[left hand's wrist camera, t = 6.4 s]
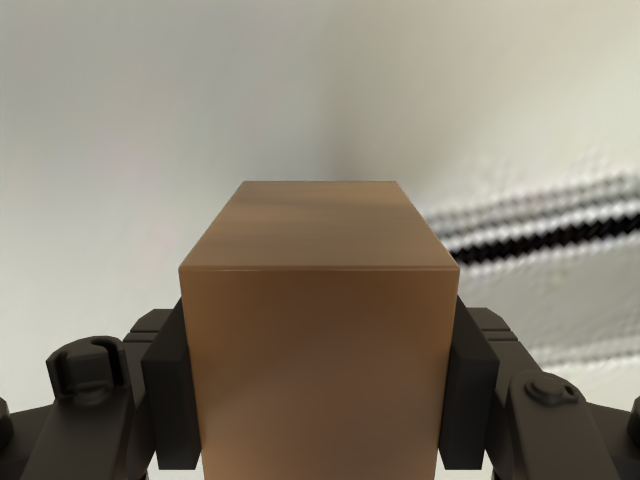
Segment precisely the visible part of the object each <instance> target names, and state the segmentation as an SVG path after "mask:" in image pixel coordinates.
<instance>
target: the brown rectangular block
mask: <svg viewBox="0 0 640 480" xmlns="http://www.w3.org/2000/svg"><path fill="white" fill-rule="evenodd" d="M178 272H179V280H180V288H181V296H182V304H183V312H184V320H185V328H186V336H187V344H188V348H189V356H190V364H191V372H192V380H193V388H194V396H195V404H196V412H197V420H198V428H199V436H200V444H201V456H202V464H203V472H204V480H434V477H435V469H436V461H437V453H438V445H439V437H440V429H441V421H442V413H443V404H444V396H445V388H446V380H447V372H448V364H449V356H450V348H451V340H452V332H453V324H454V316H455V308H456V300H457V291H458V283H459V275H460V267H459V265H458V264H457V263H456V261H455V260H454V259H453V257H452V256H451V255H450V253H449V252H448V251H447V249H446V248H445V247H444V245H443V244H442V243H441V241H440V240H439V239H438V237H437V236H436V235H435V233H434V232H433V231H432V229H431V228H430V227H429V225H428V224H427V223H426V221H425V220H424V219H423V217H422V216H421V215H420V213H419V212H418V211H417V209H416V208H415V207H414V205H413V204H412V203H411V201H410V200H409V199H408V197H407V196H406V195H405V193H404V192H403V191H402V189H401V188H400V187H399V185H398V184H397V183H396V182H395V181H244V182H243V183H242V184H241V185H240V187H239V188H238V189H237V191H236V192H235V193H234V195H233V196H232V197H231V199H230V200H229V201H228V203H227V204H226V205H225V207H224V208H223V209H222V210H221V212H220V213H219V214H218V216H217V217H216V218H215V220H214V221H213V222H212V224H211V225H210V226H209V228H208V229H207V230H206V232H205V233H204V234H203V236H202V237H201V238H200V240H199V241H198V242H197V244H196V245H195V246H194V247H193V249H192V250H191V251H190V253H189V254H188V255H187V257H186V258H185V259H184V261H183V262H182V263H181V265H180V266H179V269H178Z"/></svg>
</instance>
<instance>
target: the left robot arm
mask: <svg viewBox="0 0 640 480" xmlns="http://www.w3.org/2000/svg"><path fill="white" fill-rule="evenodd" d="M46 365H47V369H48V373H49V377H50V380H51V384H52V388H53V392H54V396H55V400H54V403H53V404H51V405H48V406H44V407H40V408H35V409H30V410H25V411H21V412H16V413H11V414H10V413H9V409H8V406H7V403H6V401H5V400H3V399H2V398H1V397H0V480H149V477H148V472H147V468H148V466H149V464H150V461H151V459H152V457H153V455H154V452H155V450H156V455H157V461H158V467H159V470H195V468H196V465H197V462H198V459H199V456H200V453H201V444H200V436H199V428H198V420H197V412H196V404H195V396H194V388H193V380H192V372H191V364H190V356H189V348H188V344H187V336H186V328H185V320H184V312H183V304H182V296H181V298H180V299H179V301H178V303H177V304H176V306H175V307H174V309H153V310H152V311H150V312H149V313H147V314H146V315H144V316H143V317H141V318H140V319H138V321H137V322H136V323H135V325H134V326H133V327H132V329H131V330H130V333H128V334H127V335H126V337H125V338H124V339H123V342H122V341H121V340H119V339H118V338H115V337H111V336H92V337H88V338H83V339H79V340H76V341H74V342H71V343H69V344H66V345H64V346H63V347H61V348H59V349H58V350H56V351H55V352H53V353H52V354H51V355H50V357H49V358H48V359H47V360H46ZM438 449H439V452H440V455H441V458H442V461H443V464H444V467H445V470H481V469H482V463H483V457H484V451H485V449H486V452H487V454H488V456H489V458H490V461H491V463H492V465H493V472H492V477H491V480H640V396H639V397H638V398H636V399H635V401H634V404H633V407H632V411H631V412H628V411H624V410H619V409H614V408H610V407H605V406H600V405H596V404H592V403H589V402H586V399H585V398H584V396H583V395H582V393H581V392H580V391H579V389H578V388H576V387H575V386H574V385H572V384H571V383H570V382H568V381H567V380H565V379H563V378H561V377H559V376H556V375H554V374H551V373H547V372H543V371H542V370H541V368H540V367H539V366H538V365H537V363H536V362H535V361H534V359H533V358H532V357H531V355H530V354H529V353H528V351H527V350H526V349H525V347H524V346H523V345H522V344H521V342H520V341H518V338H517V337H516V336H515V334H514V333H513V332H511V329H510V328H509V327H508V325H507V324H506V323H505V321H504V320H503V319H502V318H501V317H500V316H498V315H497V314H495V313H494V312H492V311H491V310H489V309H488V308H466V307H465V305H464V304H463V302H462V301H461V299H460V297H459V296H458V294H457V300H456V308H455V316H454V324H453V332H452V340H451V348H450V356H449V364H448V372H447V380H446V388H445V396H444V404H443V413H442V421H441V429H440V437H439V445H438Z"/></svg>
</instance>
